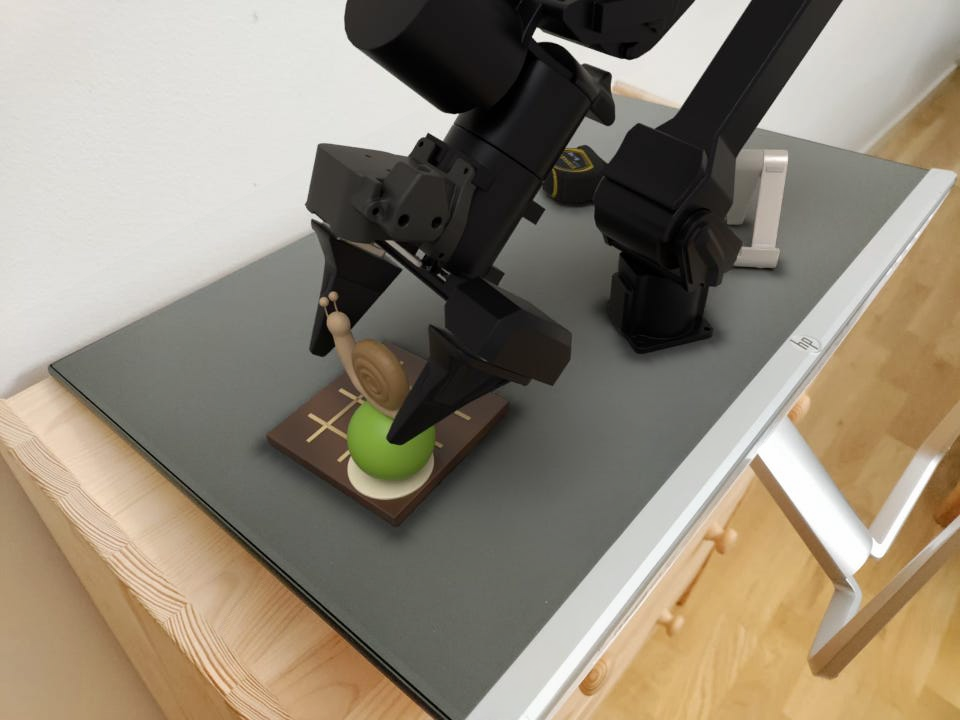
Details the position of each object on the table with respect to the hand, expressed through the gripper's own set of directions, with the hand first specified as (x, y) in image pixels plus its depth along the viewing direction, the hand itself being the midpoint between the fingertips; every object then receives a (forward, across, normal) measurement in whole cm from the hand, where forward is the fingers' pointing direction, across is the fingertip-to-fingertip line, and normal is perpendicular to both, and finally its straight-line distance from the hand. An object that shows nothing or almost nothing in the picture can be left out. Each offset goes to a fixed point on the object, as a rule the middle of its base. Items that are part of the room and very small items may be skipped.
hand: (351, 395), depth 40 cm
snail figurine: (+4, 0, +6) cm, 7 cm away
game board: (+3, -4, +8) cm, 10 cm away
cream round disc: (+5, 0, +7) cm, 8 cm away
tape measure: (-19, -20, +31) cm, 42 cm away
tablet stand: (-21, -4, +33) cm, 39 cm away
